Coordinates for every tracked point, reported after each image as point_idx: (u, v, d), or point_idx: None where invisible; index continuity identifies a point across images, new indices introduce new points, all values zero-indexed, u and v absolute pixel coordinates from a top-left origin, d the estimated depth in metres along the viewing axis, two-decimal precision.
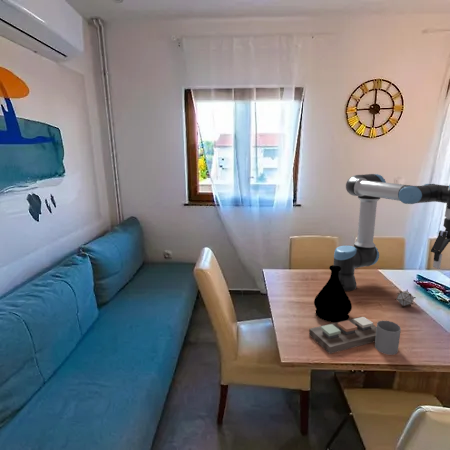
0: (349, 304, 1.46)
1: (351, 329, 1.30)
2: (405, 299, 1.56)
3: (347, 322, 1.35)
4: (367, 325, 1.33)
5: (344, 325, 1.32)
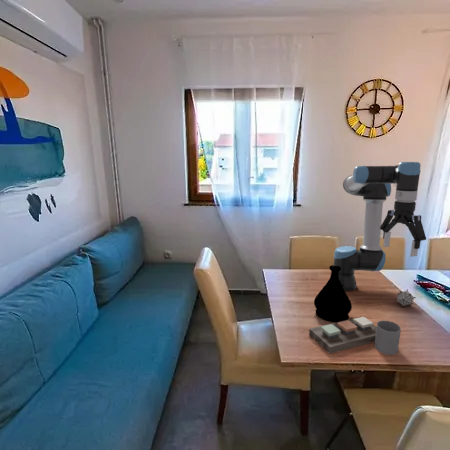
0: (349, 304, 1.46)
1: (351, 329, 1.30)
2: (405, 299, 1.56)
3: (347, 322, 1.35)
4: (367, 325, 1.33)
5: (344, 325, 1.32)
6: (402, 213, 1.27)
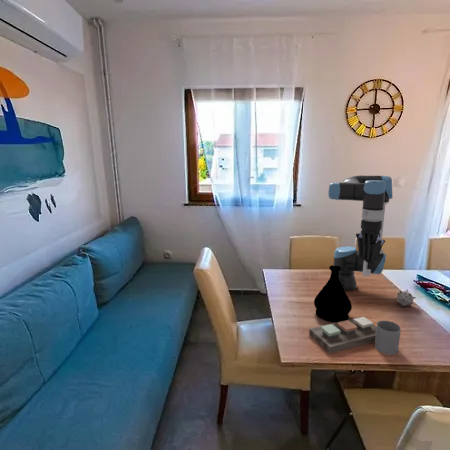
0: (349, 304, 1.46)
1: (351, 329, 1.30)
2: (405, 299, 1.56)
3: (347, 322, 1.35)
4: (367, 325, 1.33)
5: (344, 325, 1.32)
6: (368, 232, 1.24)
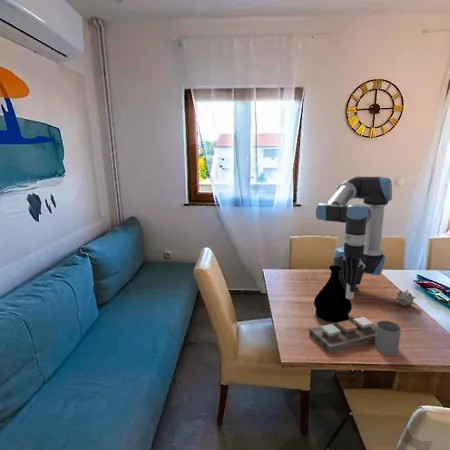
0: (349, 304, 1.46)
1: (351, 329, 1.30)
2: (405, 299, 1.56)
3: (347, 322, 1.35)
4: (367, 325, 1.33)
5: (344, 325, 1.32)
6: (351, 256, 1.25)
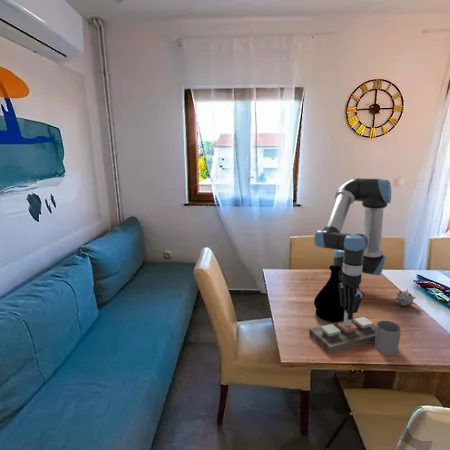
0: None
1: (351, 329, 1.30)
2: (405, 299, 1.56)
3: None
4: (367, 325, 1.33)
5: (344, 325, 1.32)
6: (349, 285, 1.28)
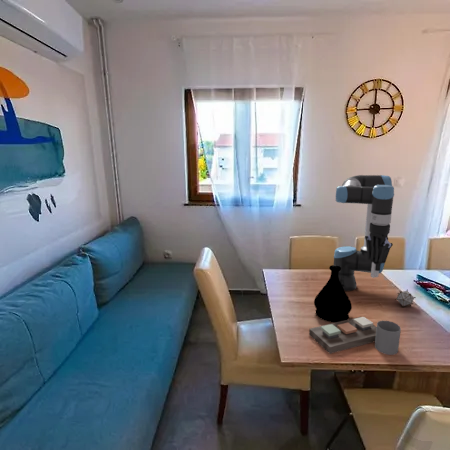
0: (349, 304, 1.46)
1: (351, 331, 1.31)
2: (405, 299, 1.56)
3: (347, 324, 1.35)
4: (367, 325, 1.33)
5: (344, 327, 1.33)
6: (377, 235, 1.28)
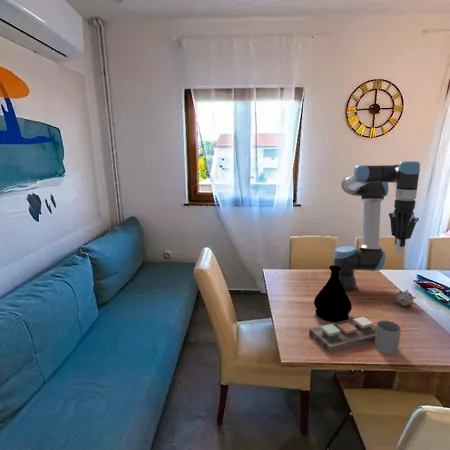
0: (349, 304, 1.46)
1: (351, 331, 1.31)
2: (405, 299, 1.56)
3: (347, 324, 1.35)
4: (367, 325, 1.33)
5: (344, 327, 1.33)
6: (402, 211, 1.30)
